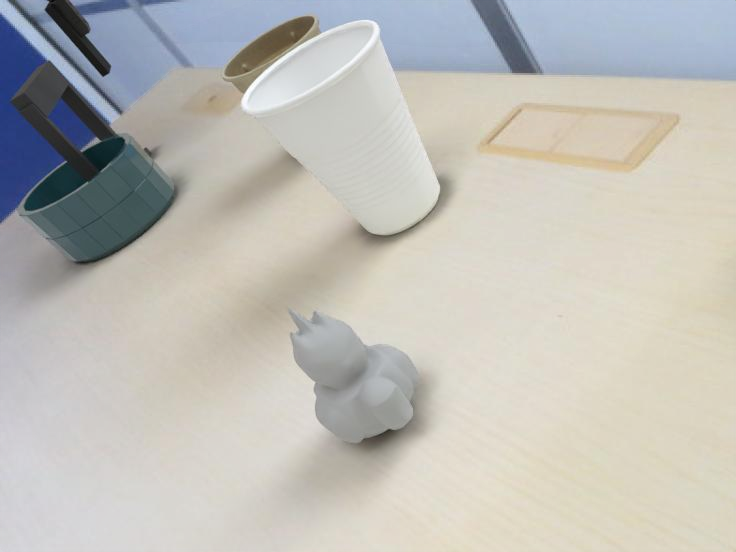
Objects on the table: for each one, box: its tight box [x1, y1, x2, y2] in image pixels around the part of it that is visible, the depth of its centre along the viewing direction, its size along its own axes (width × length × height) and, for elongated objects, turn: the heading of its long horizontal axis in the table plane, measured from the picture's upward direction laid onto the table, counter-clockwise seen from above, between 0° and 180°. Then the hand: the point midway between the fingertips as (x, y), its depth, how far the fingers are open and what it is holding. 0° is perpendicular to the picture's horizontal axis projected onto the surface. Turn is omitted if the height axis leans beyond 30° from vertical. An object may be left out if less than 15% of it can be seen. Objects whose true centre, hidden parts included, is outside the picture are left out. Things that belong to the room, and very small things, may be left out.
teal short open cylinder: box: [16, 132, 175, 263], centre depth 73 cm, size 12×12×6 cm
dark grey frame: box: [9, 59, 152, 182], centre depth 76 cm, size 20×5×12 cm, turn 24°
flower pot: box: [220, 13, 323, 95], centre depth 65 cm, size 9×9×9 cm
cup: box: [240, 19, 441, 236], centre depth 50 cm, size 10×10×11 cm
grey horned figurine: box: [285, 305, 420, 444], centre depth 37 cm, size 5×7×8 cm
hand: (48, 106), depth 74 cm, fingers open, 13 cm apart
